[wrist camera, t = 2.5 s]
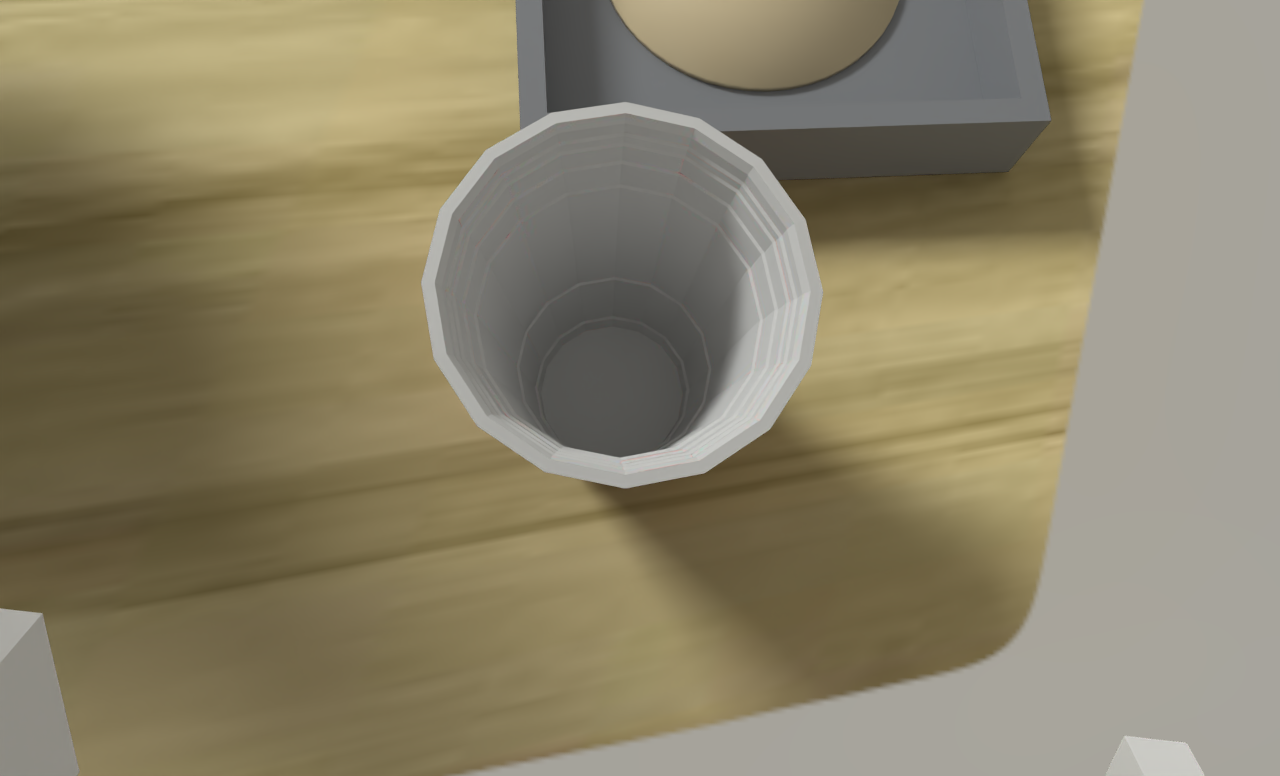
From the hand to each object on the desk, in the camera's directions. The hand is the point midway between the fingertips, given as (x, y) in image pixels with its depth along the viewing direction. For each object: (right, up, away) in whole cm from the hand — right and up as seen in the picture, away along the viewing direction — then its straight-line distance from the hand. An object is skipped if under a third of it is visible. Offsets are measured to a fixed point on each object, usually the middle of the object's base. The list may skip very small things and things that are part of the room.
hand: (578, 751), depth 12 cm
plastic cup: (0, +4, +26) cm, 26 cm away
